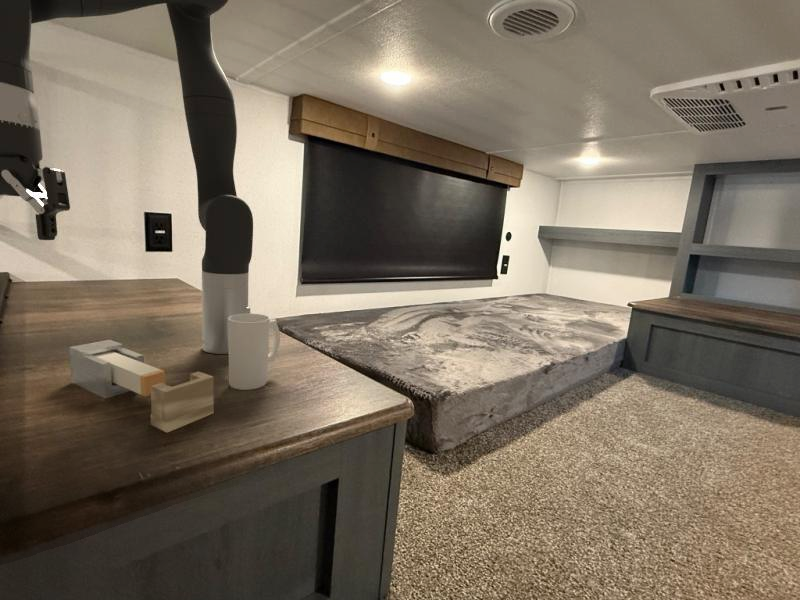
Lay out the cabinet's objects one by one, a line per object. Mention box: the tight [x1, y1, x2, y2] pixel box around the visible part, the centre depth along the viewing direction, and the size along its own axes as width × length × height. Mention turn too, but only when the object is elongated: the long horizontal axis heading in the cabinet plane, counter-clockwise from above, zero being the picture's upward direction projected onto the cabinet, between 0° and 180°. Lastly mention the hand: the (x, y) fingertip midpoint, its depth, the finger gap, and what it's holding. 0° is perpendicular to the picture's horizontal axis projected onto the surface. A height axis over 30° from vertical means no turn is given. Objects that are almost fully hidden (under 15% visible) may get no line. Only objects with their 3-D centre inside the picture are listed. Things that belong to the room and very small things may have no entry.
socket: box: [150, 371, 215, 433], centre depth 55 cm, size 4×7×6 cm, turn 152°
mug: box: [228, 313, 281, 391], centre depth 69 cm, size 10×7×12 cm, turn 146°
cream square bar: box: [90, 350, 166, 397], centre depth 62 cm, size 18×3×3 cm, turn 62°
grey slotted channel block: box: [68, 339, 145, 400], centre depth 63 cm, size 10×6×6 cm, turn 62°
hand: (16, 238), depth 58 cm, fingers open, 8 cm apart
